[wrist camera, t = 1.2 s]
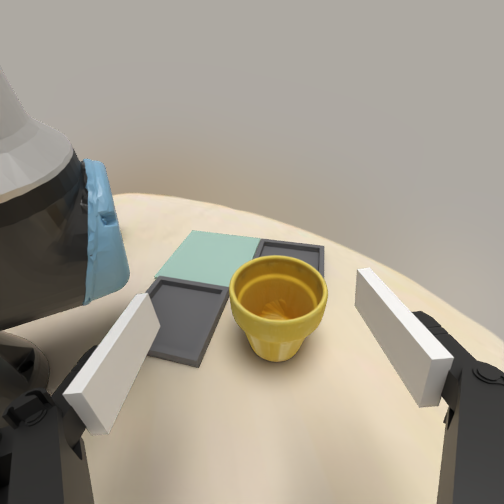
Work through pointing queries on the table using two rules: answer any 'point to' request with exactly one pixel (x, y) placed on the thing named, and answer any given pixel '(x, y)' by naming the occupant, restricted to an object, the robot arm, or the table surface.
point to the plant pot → (277, 304)
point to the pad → (209, 257)
